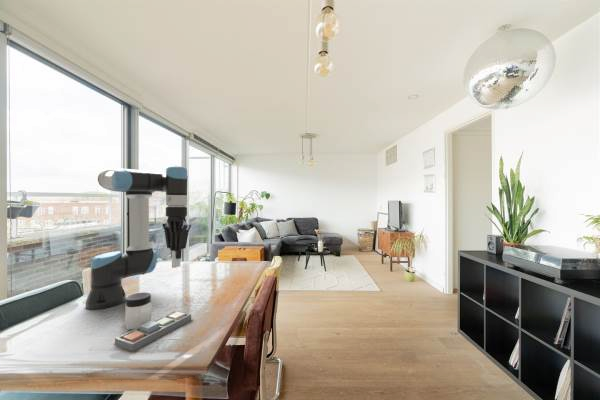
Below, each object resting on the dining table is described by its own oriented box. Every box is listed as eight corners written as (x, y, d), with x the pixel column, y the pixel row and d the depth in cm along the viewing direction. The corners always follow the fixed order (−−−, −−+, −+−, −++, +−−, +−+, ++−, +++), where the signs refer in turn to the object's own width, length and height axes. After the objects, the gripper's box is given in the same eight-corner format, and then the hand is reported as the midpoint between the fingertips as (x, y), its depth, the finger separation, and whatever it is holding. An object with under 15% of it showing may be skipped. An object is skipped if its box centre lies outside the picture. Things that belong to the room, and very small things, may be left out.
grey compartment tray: (112, 348, 83) (112, 337, 83) (173, 319, 104) (173, 310, 104) (134, 356, 78) (134, 345, 78) (193, 324, 99) (193, 314, 99)
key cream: (167, 321, 98) (167, 316, 98) (176, 316, 101) (176, 311, 101) (175, 323, 96) (175, 317, 96) (184, 318, 100) (184, 313, 100)
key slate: (139, 331, 88) (139, 325, 88) (151, 326, 91) (151, 320, 91) (147, 334, 86) (147, 328, 86) (159, 328, 90) (159, 322, 90)
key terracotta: (123, 343, 82) (123, 336, 82) (135, 336, 86) (135, 330, 86) (131, 345, 81) (131, 339, 81) (144, 339, 85) (144, 333, 85)
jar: (120, 334, 92) (120, 301, 92) (129, 324, 100) (129, 293, 100) (147, 331, 94) (147, 299, 94) (154, 321, 102) (155, 291, 102)
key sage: (154, 327, 93) (154, 322, 93) (164, 322, 96) (164, 317, 96) (162, 330, 91) (162, 324, 91) (172, 324, 95) (172, 319, 95)
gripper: (156, 206, 98) (155, 267, 98) (180, 206, 93) (180, 271, 93) (172, 205, 105) (172, 262, 105) (196, 206, 100) (196, 266, 100)
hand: (176, 266), depth 99 cm, fingers closed
